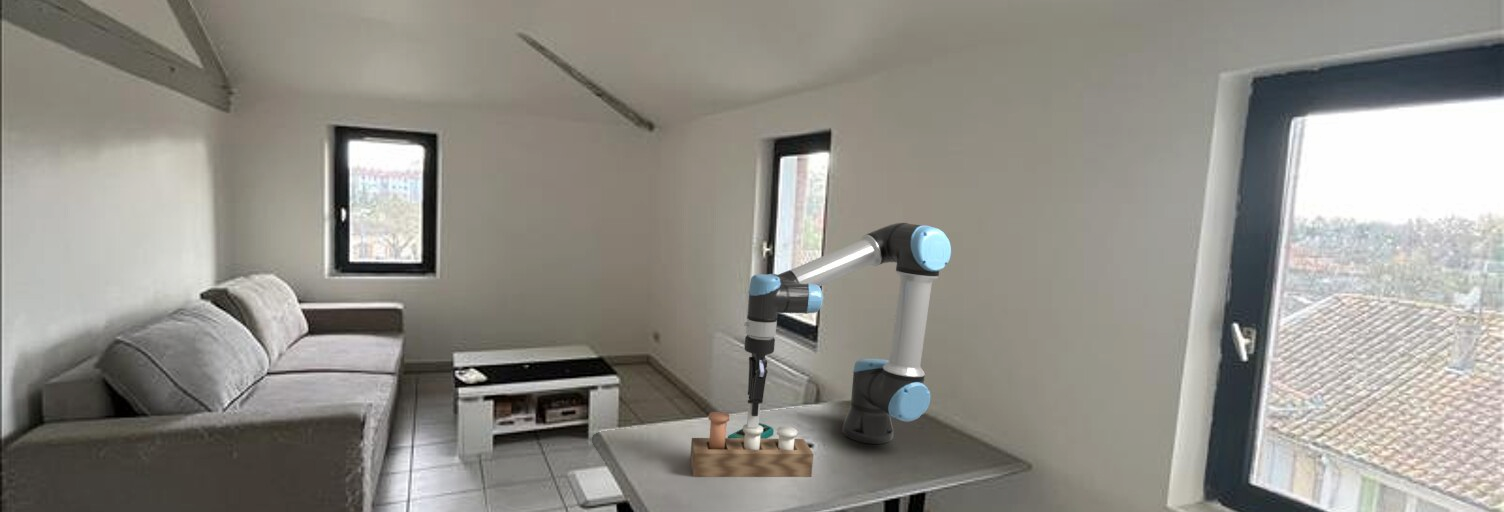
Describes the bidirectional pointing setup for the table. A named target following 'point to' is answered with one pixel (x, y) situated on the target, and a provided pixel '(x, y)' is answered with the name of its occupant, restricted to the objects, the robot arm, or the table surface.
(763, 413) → the table surface
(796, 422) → the table surface
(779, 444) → the plug near
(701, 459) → the board
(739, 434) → the digital multimeter
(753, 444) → the plug mid
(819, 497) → the table surface
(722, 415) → the plug terracotta
